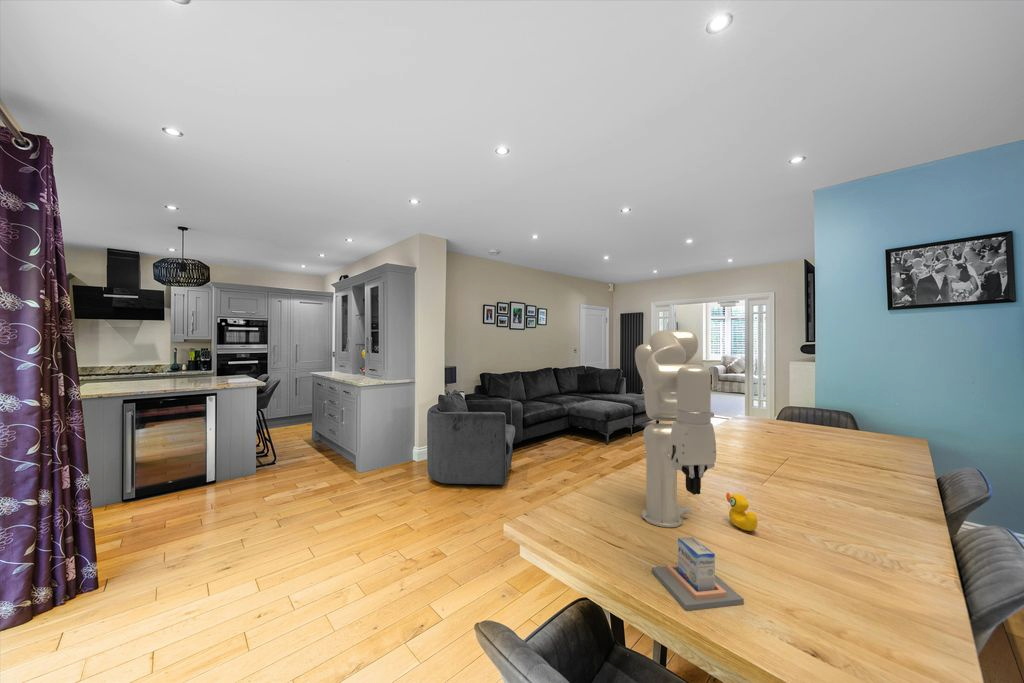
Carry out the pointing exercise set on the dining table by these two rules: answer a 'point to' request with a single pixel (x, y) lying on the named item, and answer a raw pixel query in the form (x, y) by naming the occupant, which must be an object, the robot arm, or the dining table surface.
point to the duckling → (741, 512)
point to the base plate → (689, 595)
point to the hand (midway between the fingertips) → (693, 492)
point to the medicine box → (696, 564)
